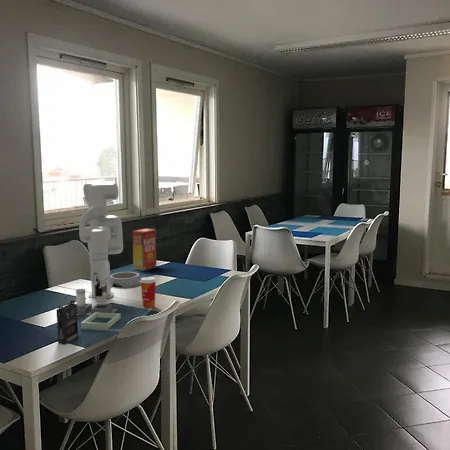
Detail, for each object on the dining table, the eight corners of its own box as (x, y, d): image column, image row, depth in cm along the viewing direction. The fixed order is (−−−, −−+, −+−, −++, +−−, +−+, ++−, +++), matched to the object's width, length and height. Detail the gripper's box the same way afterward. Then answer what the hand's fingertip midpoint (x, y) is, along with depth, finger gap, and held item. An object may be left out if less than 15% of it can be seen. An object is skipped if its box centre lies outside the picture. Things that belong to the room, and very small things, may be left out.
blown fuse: (98, 299, 235) (98, 278, 234) (107, 300, 235) (106, 279, 233) (95, 302, 231) (94, 281, 230) (103, 302, 231) (102, 281, 229)
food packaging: (143, 271, 318) (142, 231, 314) (132, 269, 323) (131, 230, 319) (157, 267, 329) (156, 229, 325) (146, 265, 334) (145, 228, 330)
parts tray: (95, 318, 226) (95, 312, 226) (120, 320, 224) (120, 313, 224) (81, 329, 213) (81, 322, 212) (108, 331, 211) (107, 324, 210)
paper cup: (139, 305, 246) (138, 277, 244) (154, 303, 249) (153, 275, 247) (143, 310, 239) (142, 281, 237) (158, 307, 242) (158, 279, 240)
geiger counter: (70, 334, 207) (68, 299, 204) (80, 335, 205) (78, 300, 203) (54, 343, 197) (52, 306, 195) (64, 345, 195) (62, 307, 193)
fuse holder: (74, 309, 241) (74, 301, 240) (118, 311, 237) (118, 304, 236) (64, 315, 231) (64, 308, 231) (109, 318, 227) (109, 310, 227)
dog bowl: (131, 289, 277) (131, 279, 276) (102, 286, 283) (102, 277, 282) (146, 281, 293) (146, 272, 292) (118, 279, 299) (118, 270, 298)
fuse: (79, 309, 237) (78, 288, 236) (87, 309, 236) (86, 288, 235) (75, 311, 233) (74, 290, 232) (83, 312, 232) (82, 291, 231)
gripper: (99, 251, 238) (100, 288, 241) (83, 259, 222) (85, 299, 225) (114, 252, 237) (115, 289, 240) (99, 260, 221) (101, 300, 224)
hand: (101, 294), depth 233 cm, fingers closed on blown fuse, 4 cm apart
